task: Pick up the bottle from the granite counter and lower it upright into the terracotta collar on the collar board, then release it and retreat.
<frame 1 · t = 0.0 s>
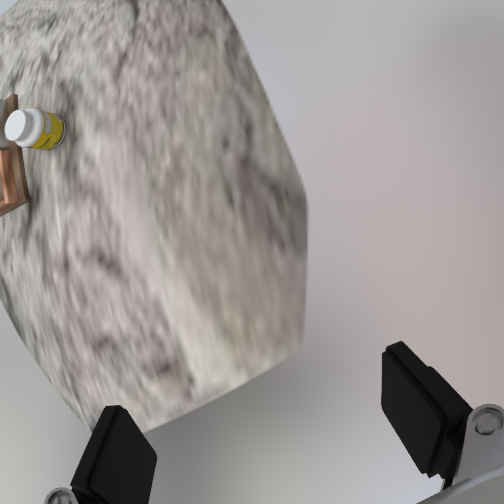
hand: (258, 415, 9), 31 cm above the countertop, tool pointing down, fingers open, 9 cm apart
supplement bottle: (53, 132, 34), on the countertop
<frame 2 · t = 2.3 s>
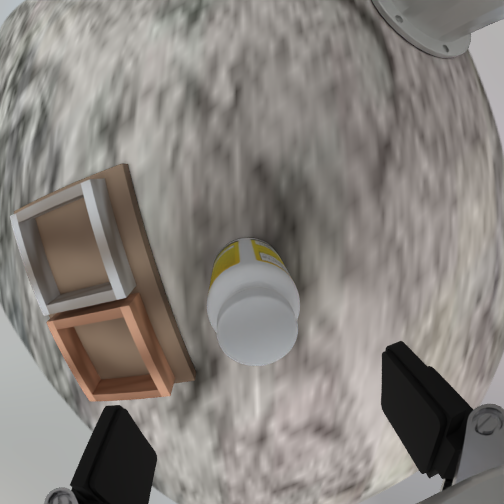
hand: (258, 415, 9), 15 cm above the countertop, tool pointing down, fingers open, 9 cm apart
supplement bottle: (247, 269, 23), on the countertop
collar board: (99, 293, 23), on the countertop
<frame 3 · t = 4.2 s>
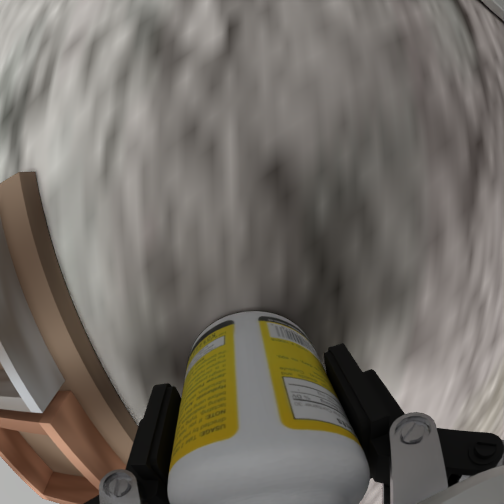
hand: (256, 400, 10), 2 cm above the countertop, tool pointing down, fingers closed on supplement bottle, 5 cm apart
supplement bottle: (251, 360, 12), on the countertop, touching gripper
collar board: (26, 375, 12), on the countertop
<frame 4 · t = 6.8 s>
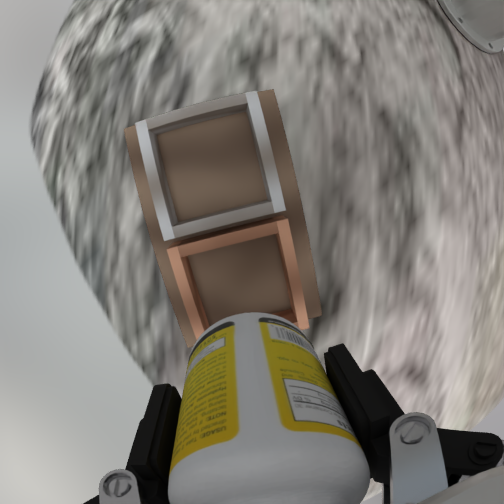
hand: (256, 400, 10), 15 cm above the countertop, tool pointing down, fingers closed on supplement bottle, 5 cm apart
supplement bottle: (252, 361, 12), point 13 cm above the countertop, touching gripper
collar board: (226, 222, 24), on the countertop
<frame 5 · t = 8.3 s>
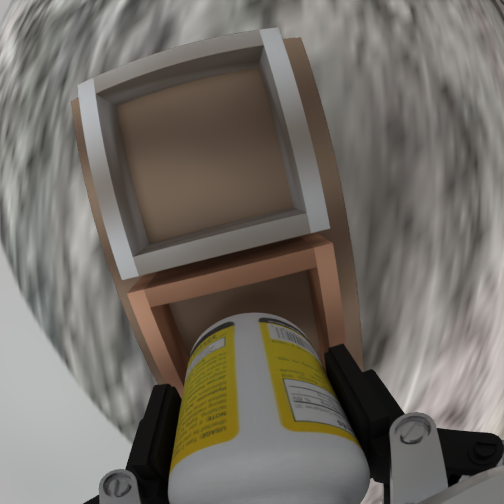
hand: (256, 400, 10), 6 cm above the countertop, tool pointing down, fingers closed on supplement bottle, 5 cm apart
supplement bottle: (252, 361, 12), point 4 cm above the countertop, touching gripper
collar board: (226, 242, 15), on the countertop
when the fingers open (5 cm above the countertop, at t = 9.5 s): supplement bottle drops 1 cm, resting on collar board.
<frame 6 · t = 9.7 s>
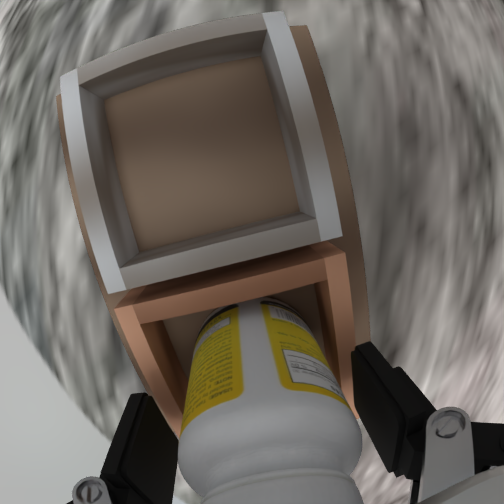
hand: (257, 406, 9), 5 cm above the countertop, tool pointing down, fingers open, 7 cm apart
supplement bottle: (253, 344, 14), point 1 cm above the countertop, touching collar board
collar board: (224, 250, 14), on the countertop
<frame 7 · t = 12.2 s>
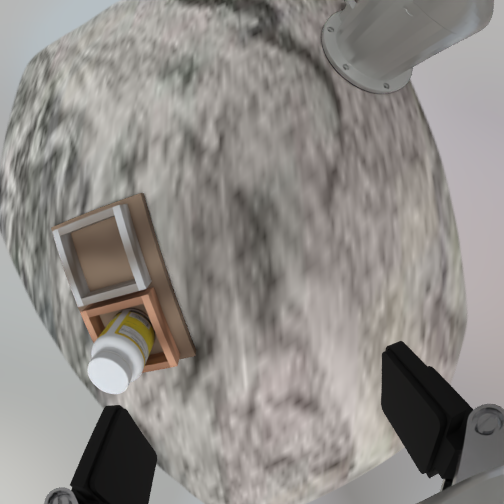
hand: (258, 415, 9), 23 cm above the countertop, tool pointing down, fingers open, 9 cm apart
supplement bottle: (135, 328, 31), point 1 cm above the countertop, touching collar board
collar board: (121, 290, 31), on the countertop
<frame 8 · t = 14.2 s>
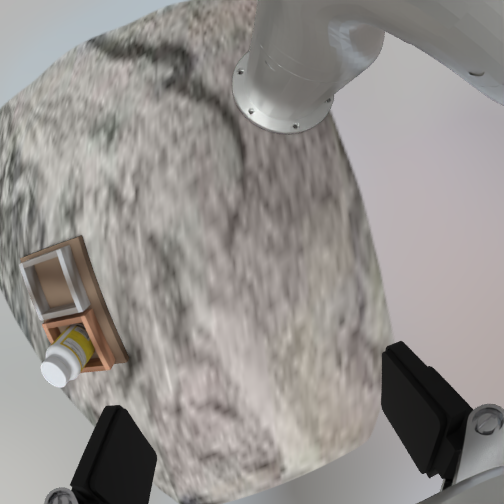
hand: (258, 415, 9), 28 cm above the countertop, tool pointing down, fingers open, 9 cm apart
supplement bottle: (82, 337, 37), point 1 cm above the countertop, touching collar board
collar board: (72, 308, 37), on the countertop
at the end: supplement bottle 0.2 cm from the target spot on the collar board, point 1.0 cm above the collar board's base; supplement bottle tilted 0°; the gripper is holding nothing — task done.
